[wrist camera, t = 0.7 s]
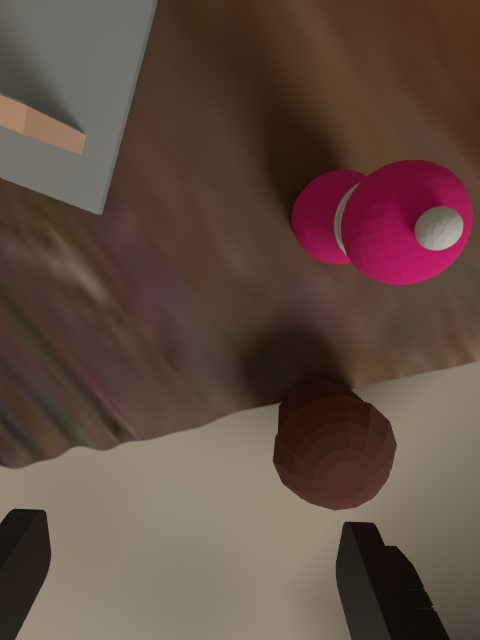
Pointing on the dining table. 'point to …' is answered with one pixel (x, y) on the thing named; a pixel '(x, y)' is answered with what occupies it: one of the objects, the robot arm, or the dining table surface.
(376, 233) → the pepper mill
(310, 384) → the muffin
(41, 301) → the dining table surface
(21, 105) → the tile
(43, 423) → the dining table surface
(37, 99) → the mat
